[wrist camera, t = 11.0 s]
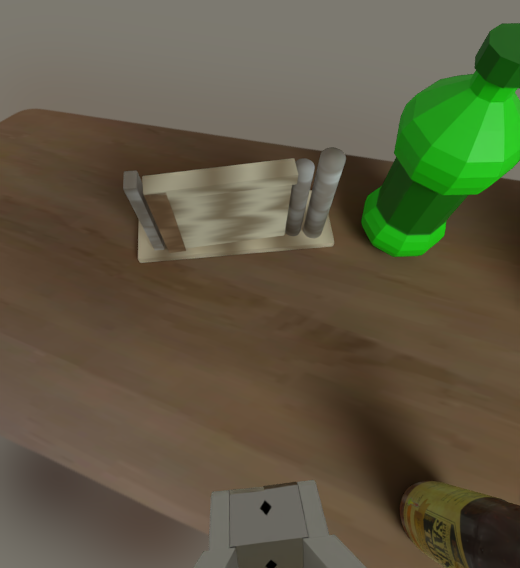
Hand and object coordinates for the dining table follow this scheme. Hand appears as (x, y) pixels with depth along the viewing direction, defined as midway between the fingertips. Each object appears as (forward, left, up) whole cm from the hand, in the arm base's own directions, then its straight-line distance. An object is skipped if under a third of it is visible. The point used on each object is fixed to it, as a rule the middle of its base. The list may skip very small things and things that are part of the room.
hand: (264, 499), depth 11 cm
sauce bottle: (-16, +7, -29) cm, 34 cm away
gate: (0, -25, -27) cm, 37 cm away
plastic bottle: (-20, -24, -29) cm, 43 cm away
